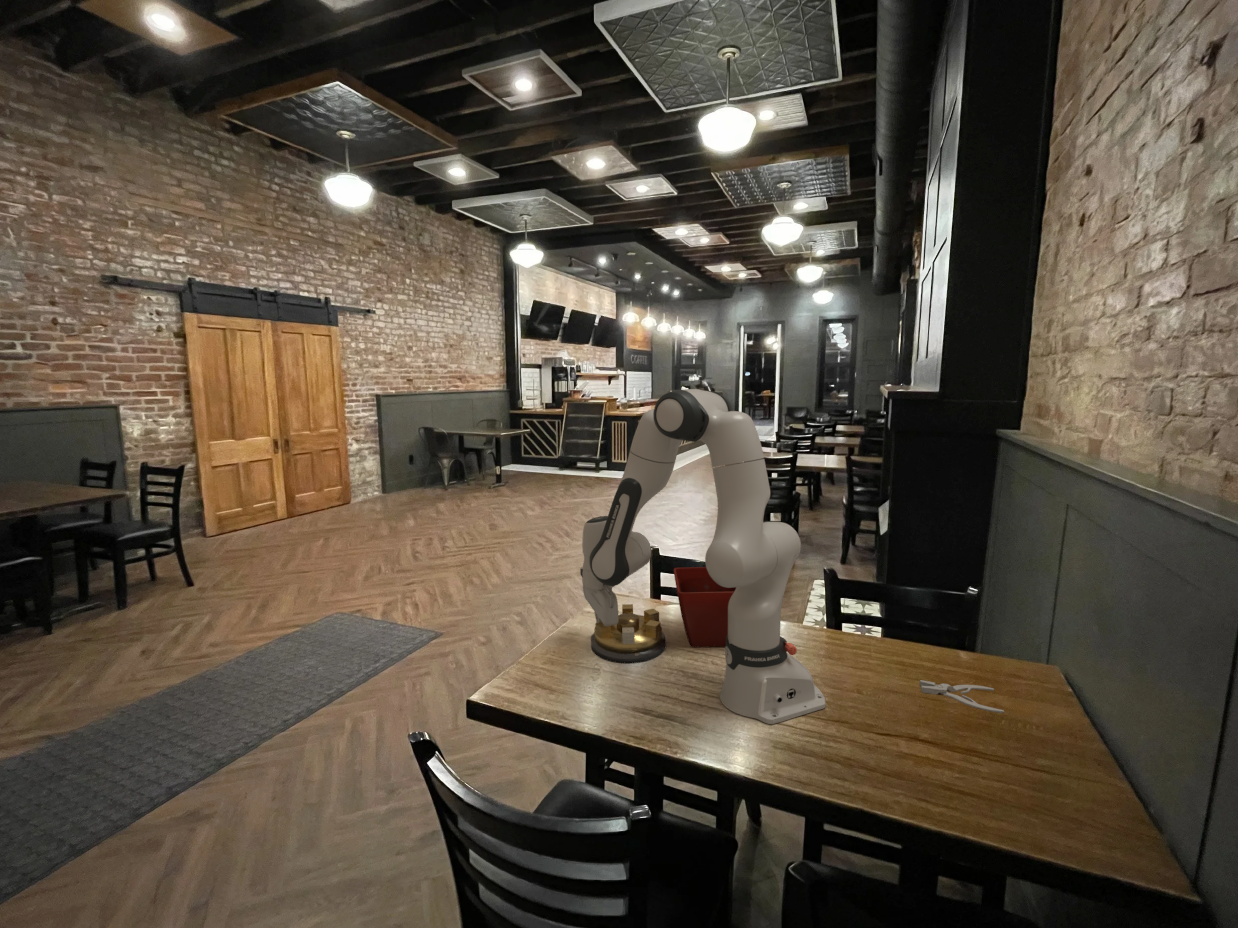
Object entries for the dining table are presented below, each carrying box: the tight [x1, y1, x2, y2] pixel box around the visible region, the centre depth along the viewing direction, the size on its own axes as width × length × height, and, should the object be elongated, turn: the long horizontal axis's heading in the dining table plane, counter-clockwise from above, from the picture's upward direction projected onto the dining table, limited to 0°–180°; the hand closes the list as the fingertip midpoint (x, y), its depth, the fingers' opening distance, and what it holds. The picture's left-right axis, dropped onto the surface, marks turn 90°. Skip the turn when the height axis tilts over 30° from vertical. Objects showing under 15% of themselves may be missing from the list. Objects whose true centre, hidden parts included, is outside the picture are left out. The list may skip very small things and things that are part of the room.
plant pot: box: [673, 566, 736, 648], centre depth 153 cm, size 19×19×17 cm
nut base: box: [590, 631, 667, 664], centre depth 151 cm, size 20×20×2 cm
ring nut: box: [594, 603, 663, 653], centre depth 150 cm, size 18×18×6 cm
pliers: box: [919, 679, 1005, 714], centre depth 124 cm, size 10×2×15 cm
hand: (600, 627), depth 149 cm, fingers closed, pressing on ring nut
